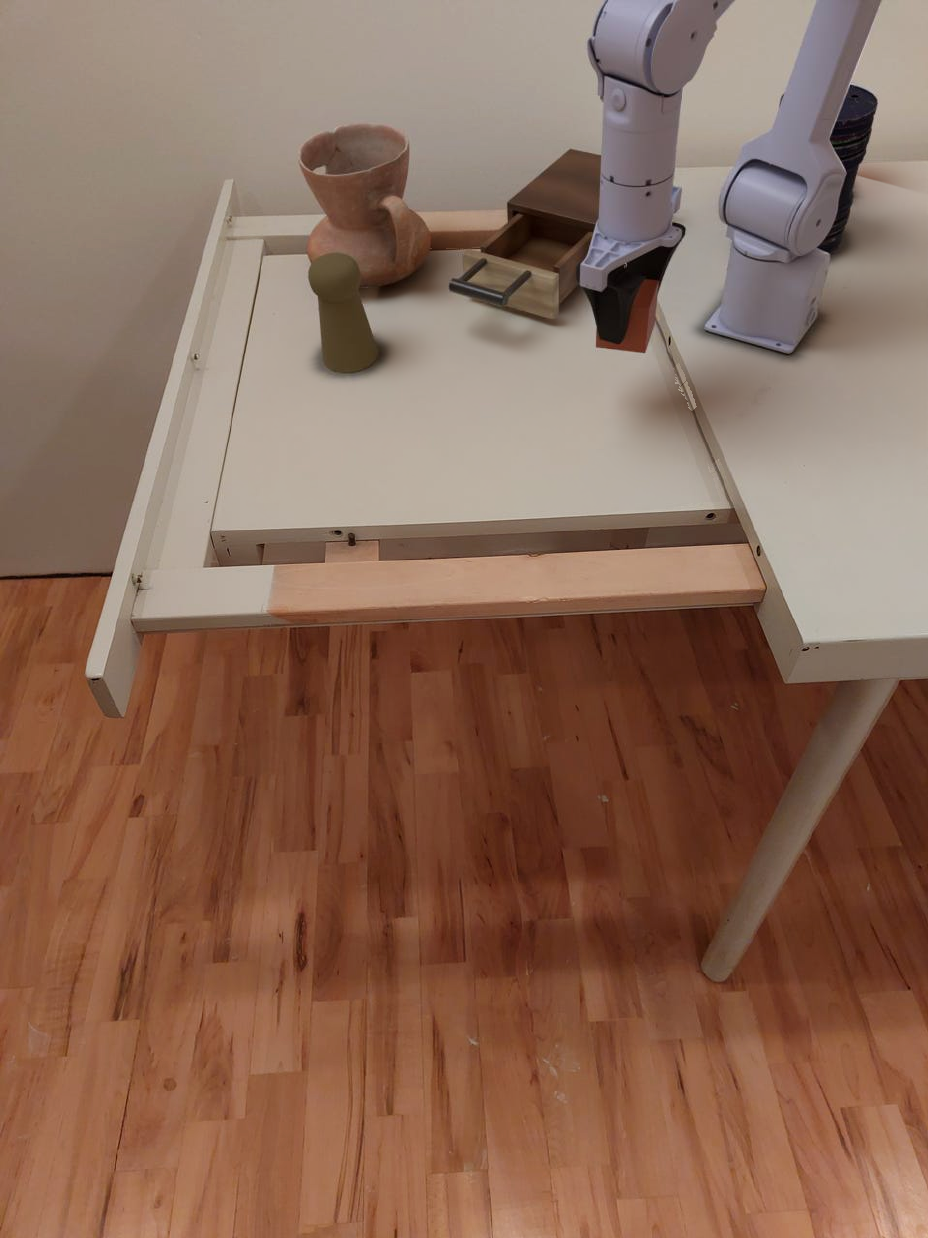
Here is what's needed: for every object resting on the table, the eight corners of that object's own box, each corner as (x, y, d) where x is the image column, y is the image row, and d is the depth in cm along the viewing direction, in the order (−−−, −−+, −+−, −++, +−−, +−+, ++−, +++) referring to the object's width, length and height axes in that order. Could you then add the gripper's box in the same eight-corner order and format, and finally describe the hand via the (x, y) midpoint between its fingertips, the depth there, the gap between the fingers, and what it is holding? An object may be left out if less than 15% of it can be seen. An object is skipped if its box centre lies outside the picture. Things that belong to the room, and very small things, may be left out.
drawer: (523, 350, 93) (522, 303, 89) (433, 321, 98) (428, 276, 94) (612, 259, 103) (615, 213, 99) (527, 237, 108) (526, 192, 103)
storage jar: (774, 267, 101) (803, 127, 90) (740, 225, 107) (763, 90, 96) (858, 251, 102) (897, 111, 90) (819, 211, 108) (851, 75, 97)
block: (654, 324, 83) (659, 280, 79) (645, 353, 80) (649, 308, 76) (606, 319, 84) (608, 274, 80) (595, 347, 81) (597, 302, 78)
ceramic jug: (288, 260, 110) (259, 139, 99) (390, 221, 114) (374, 101, 103) (357, 326, 100) (333, 200, 89) (466, 281, 104) (457, 155, 93)
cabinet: (603, 282, 102) (606, 226, 97) (508, 256, 107) (506, 201, 102) (660, 223, 109) (665, 168, 104) (569, 201, 114) (570, 148, 109)
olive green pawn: (370, 374, 94) (352, 278, 86) (315, 370, 95) (292, 275, 87) (384, 340, 98) (369, 244, 89) (331, 337, 99) (311, 242, 90)
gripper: (642, 223, 65) (629, 379, 76) (723, 139, 72) (701, 293, 83) (557, 203, 68) (556, 356, 78) (643, 124, 75) (631, 274, 85)
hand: (626, 322), depth 81 cm, fingers closed on block, 5 cm apart
